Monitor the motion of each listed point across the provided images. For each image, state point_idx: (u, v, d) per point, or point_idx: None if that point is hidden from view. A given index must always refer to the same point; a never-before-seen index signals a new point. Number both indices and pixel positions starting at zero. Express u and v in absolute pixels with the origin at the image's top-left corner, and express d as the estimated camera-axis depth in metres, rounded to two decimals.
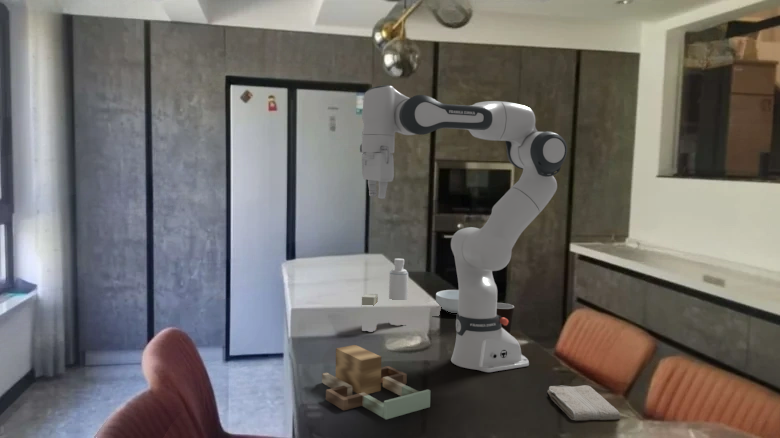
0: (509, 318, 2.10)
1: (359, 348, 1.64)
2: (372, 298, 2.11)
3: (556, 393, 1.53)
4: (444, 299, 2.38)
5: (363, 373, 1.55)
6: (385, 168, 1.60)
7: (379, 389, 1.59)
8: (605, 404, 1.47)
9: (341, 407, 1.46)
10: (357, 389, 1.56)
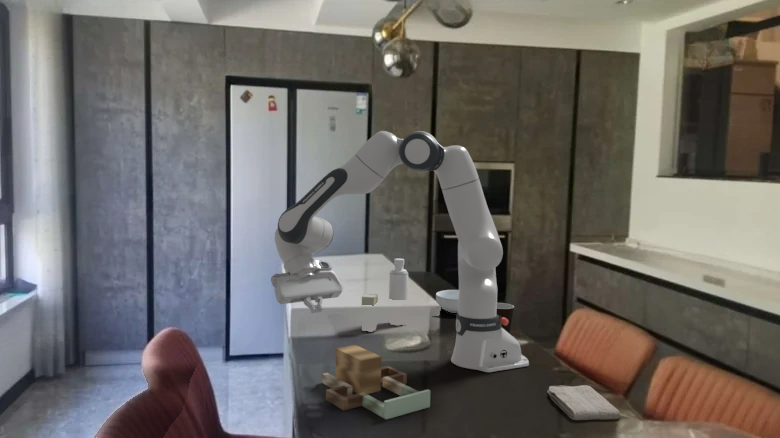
0: (509, 318, 2.10)
1: (359, 348, 1.64)
2: (372, 298, 2.11)
3: (556, 393, 1.53)
4: (444, 299, 2.38)
5: (363, 373, 1.55)
6: (276, 292, 1.75)
7: (379, 389, 1.59)
8: (605, 404, 1.47)
9: (341, 407, 1.46)
10: (357, 389, 1.56)
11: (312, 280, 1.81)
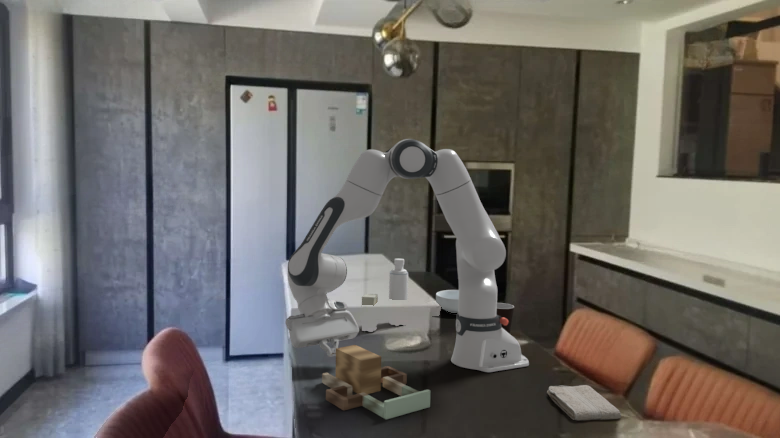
0: (509, 318, 2.10)
1: (359, 348, 1.64)
2: (372, 298, 2.11)
3: (556, 393, 1.53)
4: (444, 299, 2.38)
5: (363, 373, 1.55)
6: (291, 336, 1.69)
7: (379, 389, 1.59)
8: (606, 404, 1.47)
9: (341, 407, 1.46)
10: (357, 389, 1.56)
11: (328, 322, 1.75)
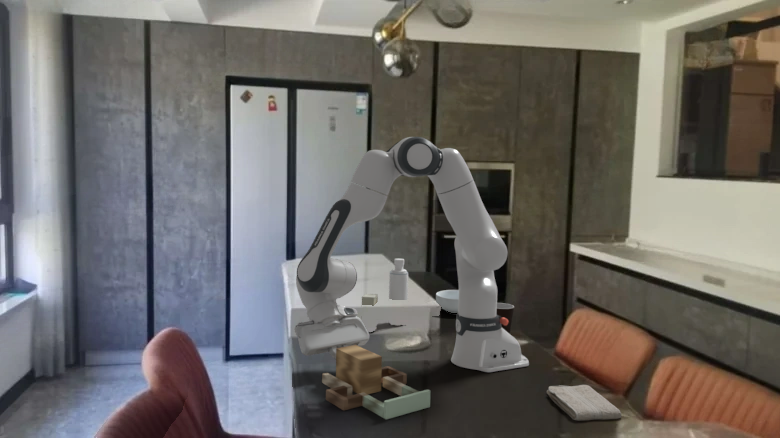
0: (509, 318, 2.10)
1: (359, 348, 1.64)
2: (372, 298, 2.11)
3: (556, 393, 1.53)
4: (444, 299, 2.38)
5: (363, 373, 1.55)
6: (300, 343, 1.65)
7: (379, 389, 1.58)
8: (606, 404, 1.48)
9: (341, 407, 1.46)
10: (357, 389, 1.56)
11: (337, 328, 1.71)
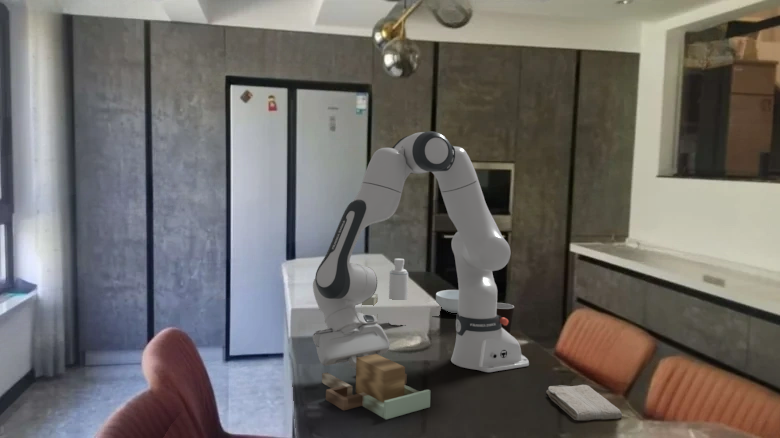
0: (509, 318, 2.10)
1: (381, 357, 1.57)
2: (372, 298, 2.11)
3: (557, 393, 1.53)
4: (444, 299, 2.38)
5: (385, 384, 1.47)
6: (319, 352, 1.57)
7: None
8: (606, 404, 1.48)
9: (341, 407, 1.46)
10: None
11: (357, 337, 1.63)
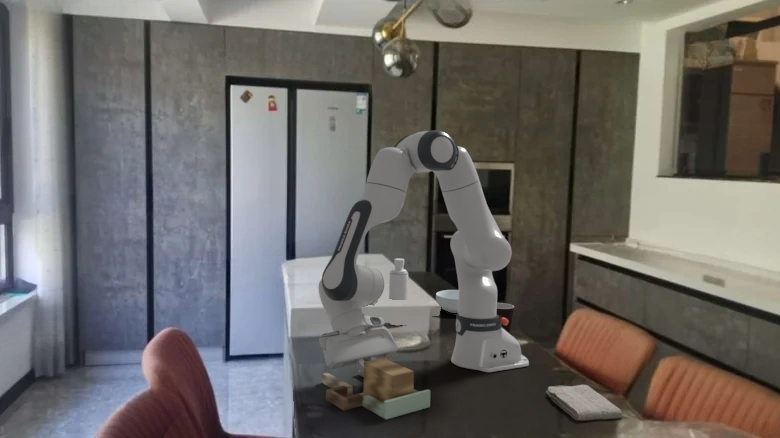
0: (509, 318, 2.10)
1: (389, 362, 1.54)
2: None
3: (557, 393, 1.53)
4: (444, 299, 2.38)
5: (394, 389, 1.44)
6: (325, 355, 1.55)
7: None
8: (607, 403, 1.48)
9: (341, 407, 1.46)
10: None
11: (364, 339, 1.61)
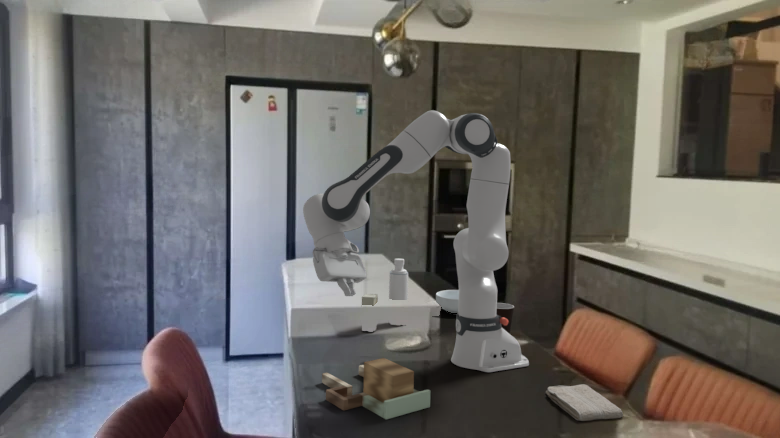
0: (509, 318, 2.10)
1: (389, 362, 1.54)
2: (372, 298, 2.11)
3: (557, 394, 1.53)
4: (444, 299, 2.38)
5: (394, 389, 1.44)
6: (318, 267, 1.63)
7: None
8: (607, 403, 1.48)
9: (341, 407, 1.46)
10: None
11: (345, 261, 1.72)
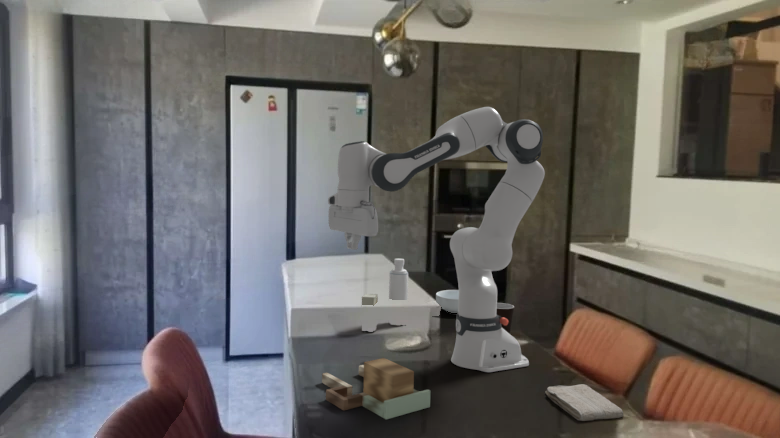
0: (509, 318, 2.10)
1: (389, 362, 1.54)
2: (372, 298, 2.11)
3: (557, 394, 1.53)
4: (444, 299, 2.38)
5: (394, 389, 1.44)
6: (371, 223, 1.67)
7: None
8: (607, 403, 1.48)
9: (341, 407, 1.46)
10: None
11: None
